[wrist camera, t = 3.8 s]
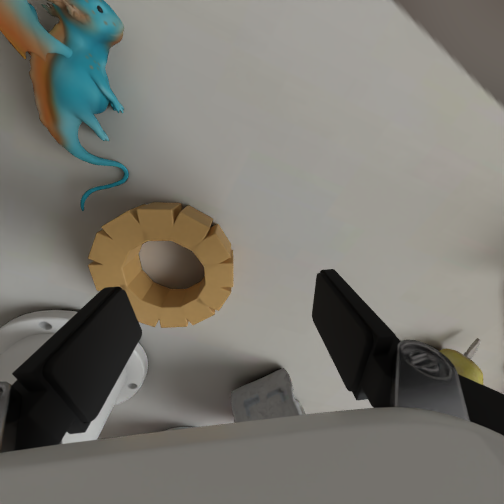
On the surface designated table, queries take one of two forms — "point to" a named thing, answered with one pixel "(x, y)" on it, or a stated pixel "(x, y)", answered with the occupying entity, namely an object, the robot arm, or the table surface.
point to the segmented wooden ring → (139, 283)
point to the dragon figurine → (68, 68)
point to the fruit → (465, 362)
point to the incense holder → (266, 399)
